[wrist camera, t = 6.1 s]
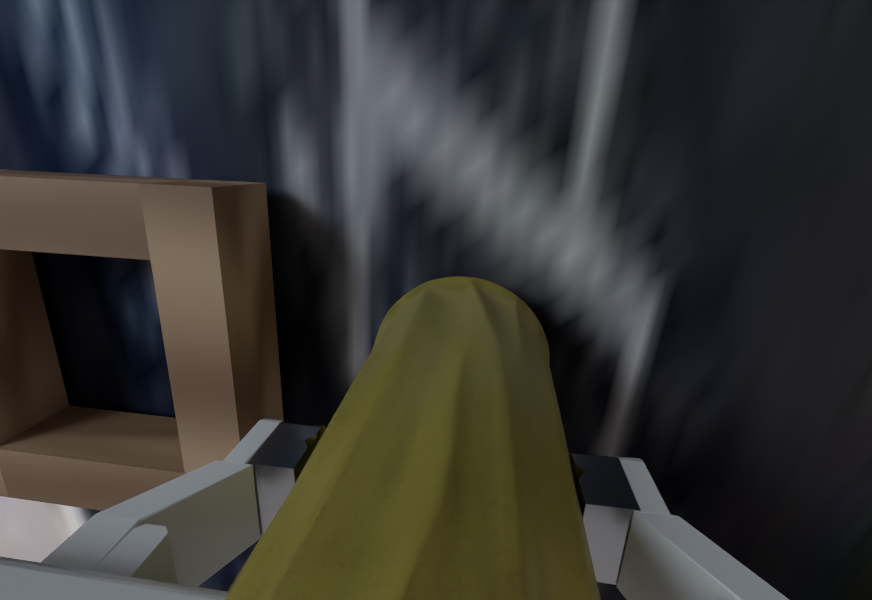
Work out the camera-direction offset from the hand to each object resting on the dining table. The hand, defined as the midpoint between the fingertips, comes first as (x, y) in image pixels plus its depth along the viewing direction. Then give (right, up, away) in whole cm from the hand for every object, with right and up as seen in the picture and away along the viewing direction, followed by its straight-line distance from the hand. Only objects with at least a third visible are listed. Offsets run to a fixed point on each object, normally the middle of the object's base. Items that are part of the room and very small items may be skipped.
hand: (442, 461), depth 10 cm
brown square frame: (-12, +2, +7) cm, 14 cm away
